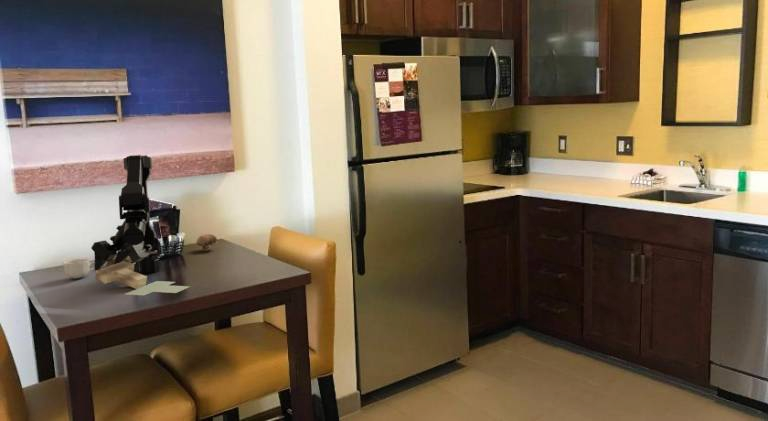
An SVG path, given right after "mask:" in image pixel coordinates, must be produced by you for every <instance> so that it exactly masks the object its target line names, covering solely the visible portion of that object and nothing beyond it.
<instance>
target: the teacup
mask: <svg viewBox="0 0 768 421" xmlns="http://www.w3.org/2000/svg"><path fill="white" fill-rule="evenodd" d="M92 264H95V261H90V259H89V258H75V259H67V260H66V261H65V260H64V261H63V262H62V265H63V269H64V273H65V275H66V276H67V277H68V278H70V279H81V278H84V277H86V276H87V275H88V274H89V272H91V271H95V269H94V267H93V268H91V265H92Z"/></svg>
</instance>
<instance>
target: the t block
mask: <svg viewBox="0 0 768 421" xmlns="http://www.w3.org/2000/svg"><path fill="white" fill-rule="evenodd" d="M134 270H135V264H130V263H128V262H125V261H123V262H120V263H117V264H114V265H111V266H108V267H107V266H105V267H101V268H100V269H99V270H95V275H94V276H95V277H94V280H95V281H97V282H100V283H103V284H105V285H107V284H109V283H112V282H115V281H116V282H118V283H121V284H123V285H126V286H128V287H130V288H132V289H134V290H136V289H138V288H141V287H143V286H146V285H147V279H148V276H147V275H145V274H139V273H137V272H138V271H137V272H136V271H134Z"/></svg>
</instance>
